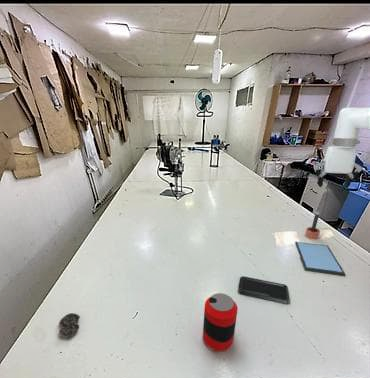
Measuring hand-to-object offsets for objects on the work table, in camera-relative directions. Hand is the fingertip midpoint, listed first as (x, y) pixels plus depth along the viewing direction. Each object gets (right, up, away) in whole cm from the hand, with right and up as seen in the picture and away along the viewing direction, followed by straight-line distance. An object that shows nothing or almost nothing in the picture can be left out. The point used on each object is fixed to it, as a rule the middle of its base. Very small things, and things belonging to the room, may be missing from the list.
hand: (332, 186), depth 97 cm
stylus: (-3, -21, +11) cm, 24 cm away
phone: (-36, -37, -22) cm, 56 cm away
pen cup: (-3, -22, +11) cm, 25 cm away
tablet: (-9, -29, -4) cm, 30 cm away
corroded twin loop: (-91, -42, -35) cm, 106 cm away
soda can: (-53, -44, -38) cm, 78 cm away
